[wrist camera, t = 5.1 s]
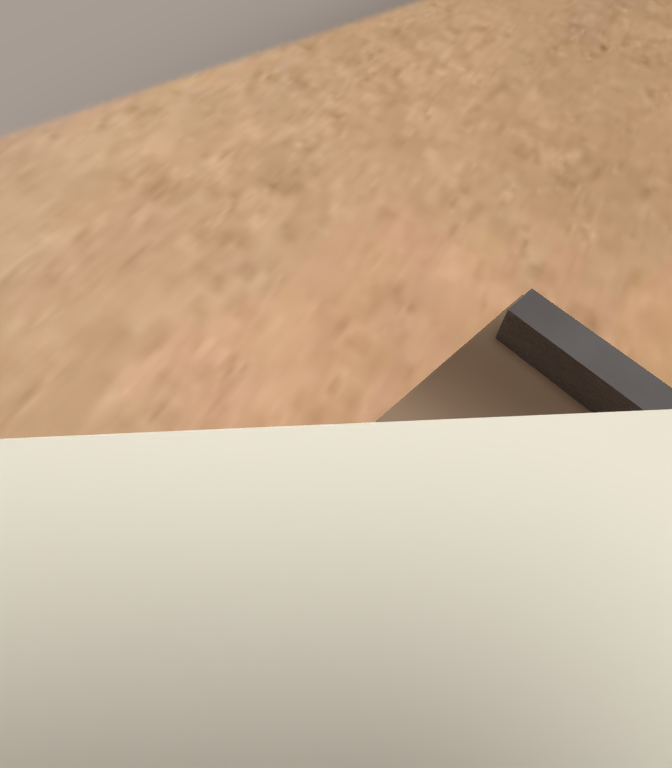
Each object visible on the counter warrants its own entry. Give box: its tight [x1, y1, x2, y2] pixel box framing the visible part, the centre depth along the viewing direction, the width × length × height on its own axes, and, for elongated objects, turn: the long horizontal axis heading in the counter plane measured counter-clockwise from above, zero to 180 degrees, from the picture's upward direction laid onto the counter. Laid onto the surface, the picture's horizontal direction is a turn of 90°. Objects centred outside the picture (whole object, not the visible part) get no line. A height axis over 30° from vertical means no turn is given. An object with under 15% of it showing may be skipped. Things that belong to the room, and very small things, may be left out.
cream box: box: [0, 409, 672, 768], centre depth 8 cm, size 4×6×12 cm
